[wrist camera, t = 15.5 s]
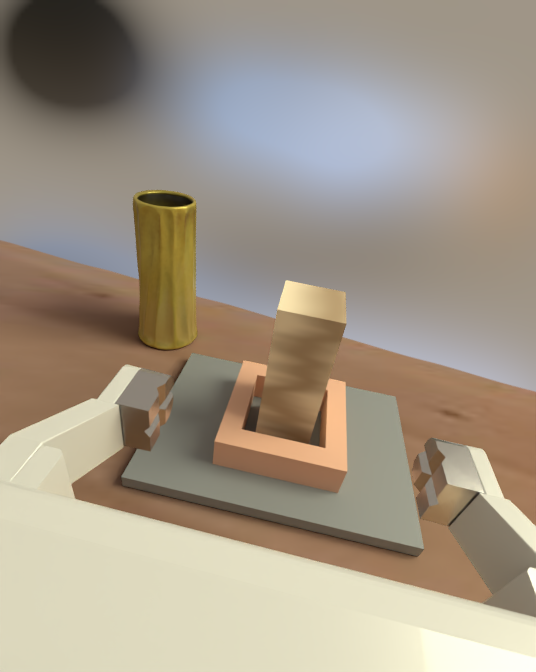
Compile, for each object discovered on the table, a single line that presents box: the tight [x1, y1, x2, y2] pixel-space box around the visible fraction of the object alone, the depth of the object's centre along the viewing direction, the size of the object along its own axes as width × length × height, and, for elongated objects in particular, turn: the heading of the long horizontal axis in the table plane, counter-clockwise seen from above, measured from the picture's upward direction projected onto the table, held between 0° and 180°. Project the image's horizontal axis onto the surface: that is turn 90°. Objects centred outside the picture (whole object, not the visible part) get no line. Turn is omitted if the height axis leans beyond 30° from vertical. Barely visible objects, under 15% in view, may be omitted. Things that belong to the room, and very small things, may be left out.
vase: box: [133, 190, 197, 350], centre depth 35 cm, size 6×6×14 cm
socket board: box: [121, 353, 424, 556], centre depth 29 cm, size 20×14×4 cm
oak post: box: [256, 281, 346, 444], centre depth 26 cm, size 4×4×12 cm
